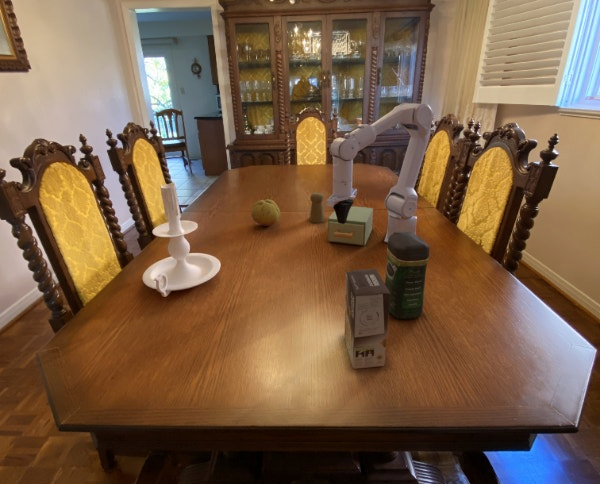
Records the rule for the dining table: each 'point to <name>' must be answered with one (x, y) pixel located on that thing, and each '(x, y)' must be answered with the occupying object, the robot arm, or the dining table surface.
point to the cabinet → (357, 220)
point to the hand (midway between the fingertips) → (341, 222)
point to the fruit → (265, 212)
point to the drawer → (346, 232)
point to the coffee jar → (406, 274)
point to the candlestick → (178, 252)
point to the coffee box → (366, 318)
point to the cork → (317, 208)
